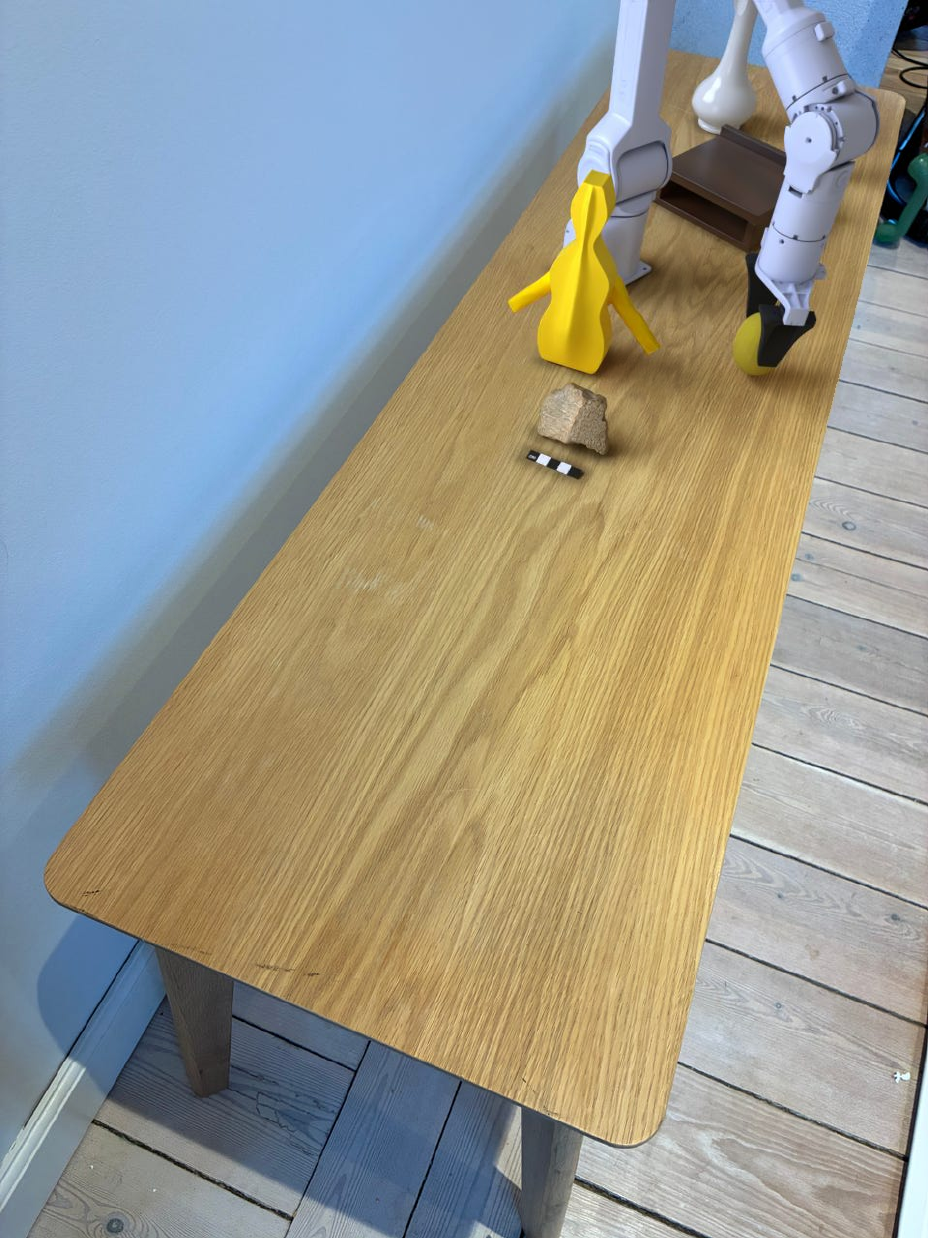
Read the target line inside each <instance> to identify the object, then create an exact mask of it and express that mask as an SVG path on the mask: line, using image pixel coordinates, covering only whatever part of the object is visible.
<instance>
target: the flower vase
mask: <svg viewBox="0 0 928 1238" xmlns="http://www.w3.org/2000/svg"><path fill="white" fill-rule="evenodd" d="M733 9H734V16H733V21H732V24H731V29H730V31H729V36H728V40H727V42H726V46H725V49H724V52H723V55H722V57H721V59H720V62H719V63H718V65H717V67H716V68H715V70H714V71H713V72H712V73H711V74H710V75H708V77H705V79H703V80H702V81H701V82H700V83H699V84H698V85H697V87H696V88H695V90H694V92H693V93H692V97H691V106H692V110H693V111H694V113H695V115H696V117H697V124H698V126H699V127H700V128H701V129H702V130H703V131H705V132H707V133H710V134H713V135H717V136H718V135H720V132H721V128H722V126H723V125H725V124H728V125H730V126H732V127H734V128H736V129H738V130H740V128H741V126H742V125H743V124H746V123H747V122H749V120H750V119H751V118H752V117H753V116H754V114H755V112H756V110H757V107H758V106H757V103H758V102H757V101H758V100H757V93H756V90H755V89H754V87H753V85H752V84H751V81H750V79H749V75H748V59H749V53H750V47H751V43H752V38H753V34H754V29H755V25H756V22H757V19H758V15H759V12H758V10H757V8H756V6H755V4H754V2H753V0H733Z"/></svg>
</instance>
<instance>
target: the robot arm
mask: <svg viewBox="0 0 928 1238" xmlns="http://www.w3.org/2000/svg"><path fill="white" fill-rule="evenodd" d="M676 2H677V0H620V4H619V11H618V13H619V14H618V21H617V32H616V40H615V48H614V49H615V50H614V59H613V68H612V76H611V77H612V78H611V85H610V86H611V87H610V96H609V104H608V110H607V112H606V113H605V114H604V115H603V117H602V118H601V119H600V120H599V121H598V123H596V124H595V125H594V127H593V128H592V129H591V130H590V132H589V133H588V134H587V136H586V138H585V139H586V140H585V147H584V151H583V154H582V155H581V158H580V160H579V162H578V165H577V175H576V176H577V177H576V178H577V185H578V188H579V187H580V185H581V184H582V182H583V181H584V179H585V178H586V176H587V175H588V173H589V172H590V171H591V170H592V169H593V170H595V171H598V172H602V173H606V174H611V175H612V178H613V184H614V190H615V196H616V204H615V208H614V211H613V213H612V215H611V217H610V218H609V220H608V221H607V223H606V225H605V226H604V228H603V229H602V237H603V240H604V242H605V245H606V247H607V249H608V251H609V252H610V254H611V256H612V258H613V260H614V262H615V264H616V267H617V274H618V275H619V276H620V277H621V278H622V279H623V281H624V285H625V286H627V285H629V284H631V283H633V282H634V281H636V280H638V279H639V278H642V277H643V276H645V275H647V274H649V273H650V272H652V267H651V265H649V264H647V263H645V262H644V261H642V260H640V254H641V250H642V245H643V240H644V236H645V231H646V226H647V221H648V217H649V213H650V207H651V204H652V202H653V201H654V200H655V197H656V193H657V190H658V189H661V188H663V187H664V186H665V185H666V184H667V182H668V181H669V179H670V176H671V173H672V158H673V156H672V151H671V150H672V149H671V139H672V132H673V129H672V127H671V126H670V125H669V124H668V123H667V122H666V121H665V120H664V119H663V118H662V117H661V116H660V112H661V104H662V99H663V91H664V85H665V79H666V78H665V77H666V70H667V64H668V58H669V51H670V43H671V37H672V30H673V22H674V16H675V10H676ZM753 2H754V4H755V6H756V8H757V10H758V15H759V16H760V18H761V19H762V21H763V24H764V25H765V27H766V34H765V36H764V40H763V43H762V47H761V55H762V58H763V60H764V62H765V65H766V67H767V70H768V72H769V75H770V77H771V79H772V82H773V84H774V87H775V88H776V91H777V94H778V96H779V99H780V101H781V104H782V106H783V108H784V111H785V114H786V115H787V118H788V120H789V123H790V124H789V125H786V126H785V129H784V134H783V135H784V136H783V145H784V152H786V156H787V163H786V167H785V170H784V173H783V174H784V175H785V178H784V182H783V185H782V188H781V191H780V194H779V198H778V201H777V204H776V207H775V210H774V214H773V217H772V220H771V223H770V226H769V228H765V231H764V234H763V238H762V241H761V245H760V247H761V248H760V250H759V252H748V253H747V254H745V256H744V260H745V265H746V272H747V297H746V308H745V310H746V311H745V320H746V319H747V318H748V317H750V316H751V315H753V314H755V313H759V312H760V318H761V335H760V341H759V346H758V352H757V364H758V366H760V367H775V368H777V367H778V366H779V365H780V363H782V360H783V359H784V358H785V356H786V355H787V353H788V352H789V351H790V349H792V347H793V346H794V344H795V343H796V342H797V341H798V340H799V339H800V338H802V336H804V335H805V334H807V332H809V331H811V330H812V329H814V327H815V326H816V323H817V320H818V319H817V315H816V313H815V311H814V310H811V308H810V298H811V295H812V292H813V289H814V286H815V282H816V281H818V280H819V281H824V280H825V279H826V277H827V275H828V271H827V268H826V266H825V264H824V263H821V262H820V261H821V258H822V256H823V254H824V250H825V248H826V245H827V242H828V239H829V237H830V234H831V231H832V228H833V226H834V223H835V220H836V218H837V215H838V213H839V210H840V207H841V204H842V202H843V198H844V196H845V193H846V190H847V188H848V185H849V182H850V179H851V177H852V174H853V172H854V169H855V166H856V164H857V162H856V161H855V160H856V159H858V158H860V157H861V156H863V155H865V154H867V153H868V152H869V151H871V149H872V148H873V147H874V145H875V144H876V142H877V140H878V138H879V135H880V131H881V125H882V123H881V121H882V120H881V114H880V110H879V107H878V104H879V103H878V100H877V99H876V98H875V96H874V95H873V94H872V93H871V92H870V91H868V90H866V89H864V88H861V87H860V86H859V85H858V84H857V81H856V80H855V79H853V78H849V76H848V74H849V73H848V70H847V68H846V66H845V63H844V60H843V58H842V55H841V54H840V51H839V49H838V47H837V43H836V41H835V39H834V36H835V35H836V30H835V28H834V26H833V24H832V21H831V20H827V18H826V16H825V14H824V13H823V12H822V11H820V10H817V9H813V8H811V7H808V6H806V5H805V3H804V0H753ZM852 79H853V80H852ZM563 236H564V237H563V243H562V244H563V245H562V249H563V248H564V247H565V246H567V245H568V244H569V243H570V242H572V241H573V240H574V239H575V238H576V234H575V230H574V227H573V223H572V219H571V218H570V219H569V220H568V222H567V223H566V227H565V231H564V235H563ZM778 301H779V302H780V303H779V305H778V304H777V303H778Z"/></svg>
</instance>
